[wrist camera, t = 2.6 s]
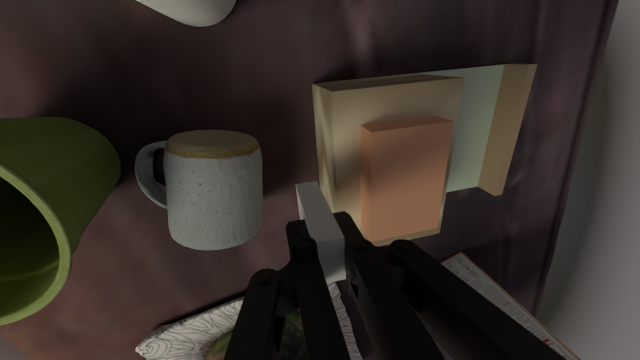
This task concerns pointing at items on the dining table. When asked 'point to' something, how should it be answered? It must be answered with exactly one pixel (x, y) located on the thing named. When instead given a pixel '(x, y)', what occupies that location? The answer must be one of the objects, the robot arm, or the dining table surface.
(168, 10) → the can
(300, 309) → the robot arm
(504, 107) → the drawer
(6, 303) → the plant pot
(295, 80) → the dining table surface
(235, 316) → the cookie jar
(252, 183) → the ceramic mug
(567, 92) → the dining table surface
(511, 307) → the cracker box
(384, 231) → the orange rectangular slab
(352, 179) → the beige rectangular slab
